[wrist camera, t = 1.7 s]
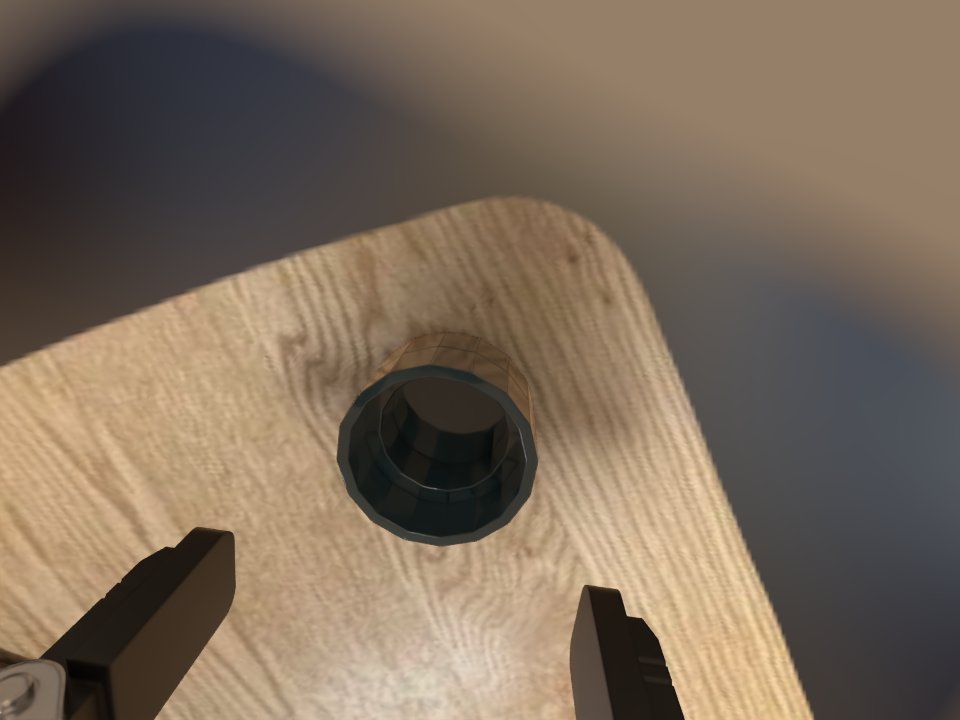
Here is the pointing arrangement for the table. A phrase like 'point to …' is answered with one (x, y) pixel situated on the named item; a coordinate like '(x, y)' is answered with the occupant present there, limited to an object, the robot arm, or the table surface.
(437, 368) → the cup
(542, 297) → the table surface
